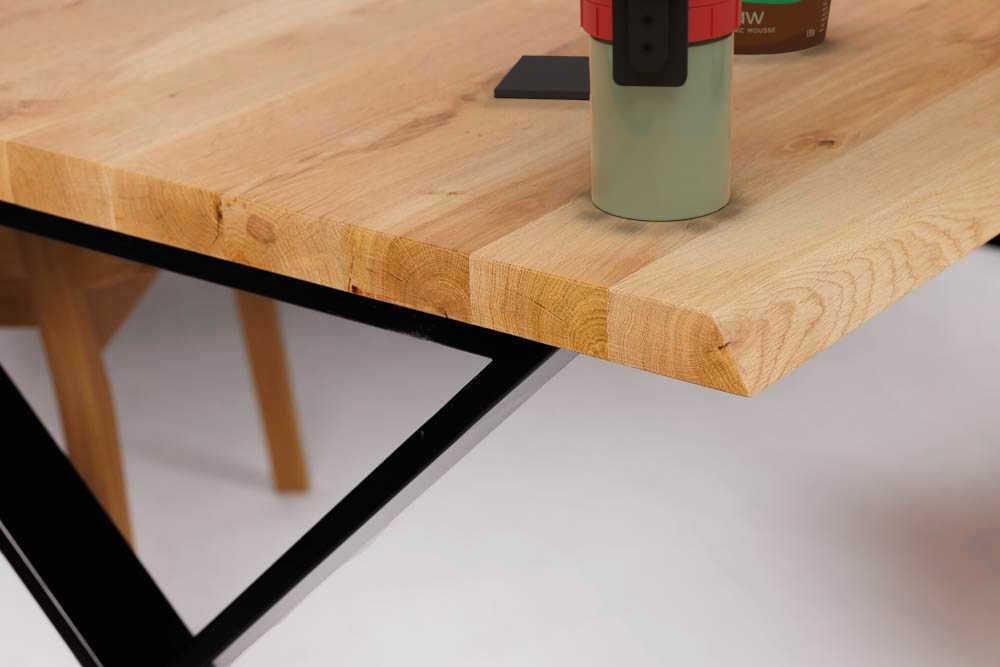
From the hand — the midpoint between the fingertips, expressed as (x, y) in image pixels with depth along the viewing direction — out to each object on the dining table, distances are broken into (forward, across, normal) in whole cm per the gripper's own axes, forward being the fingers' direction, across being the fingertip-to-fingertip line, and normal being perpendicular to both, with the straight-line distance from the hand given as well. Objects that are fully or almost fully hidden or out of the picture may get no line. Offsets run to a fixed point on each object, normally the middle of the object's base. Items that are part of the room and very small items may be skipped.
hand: (660, 58), depth 66 cm
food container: (+7, +29, -2) cm, 30 cm away
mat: (+7, +20, +8) cm, 23 cm away
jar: (+7, 0, 0) cm, 7 cm away
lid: (-3, 0, 0) cm, 3 cm away
